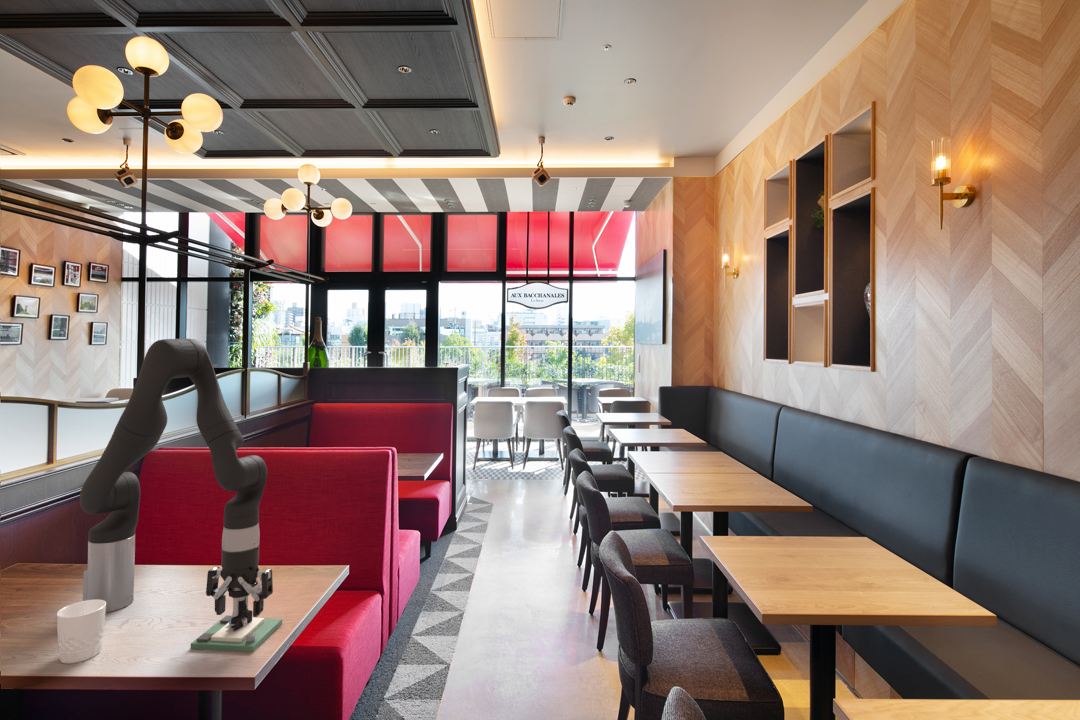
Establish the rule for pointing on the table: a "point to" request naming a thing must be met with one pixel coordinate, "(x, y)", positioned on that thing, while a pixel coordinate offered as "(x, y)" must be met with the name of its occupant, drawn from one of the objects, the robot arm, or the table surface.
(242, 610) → the push button
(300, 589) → the table surface
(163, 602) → the table surface
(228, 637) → the board
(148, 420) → the robot arm
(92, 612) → the white cup
